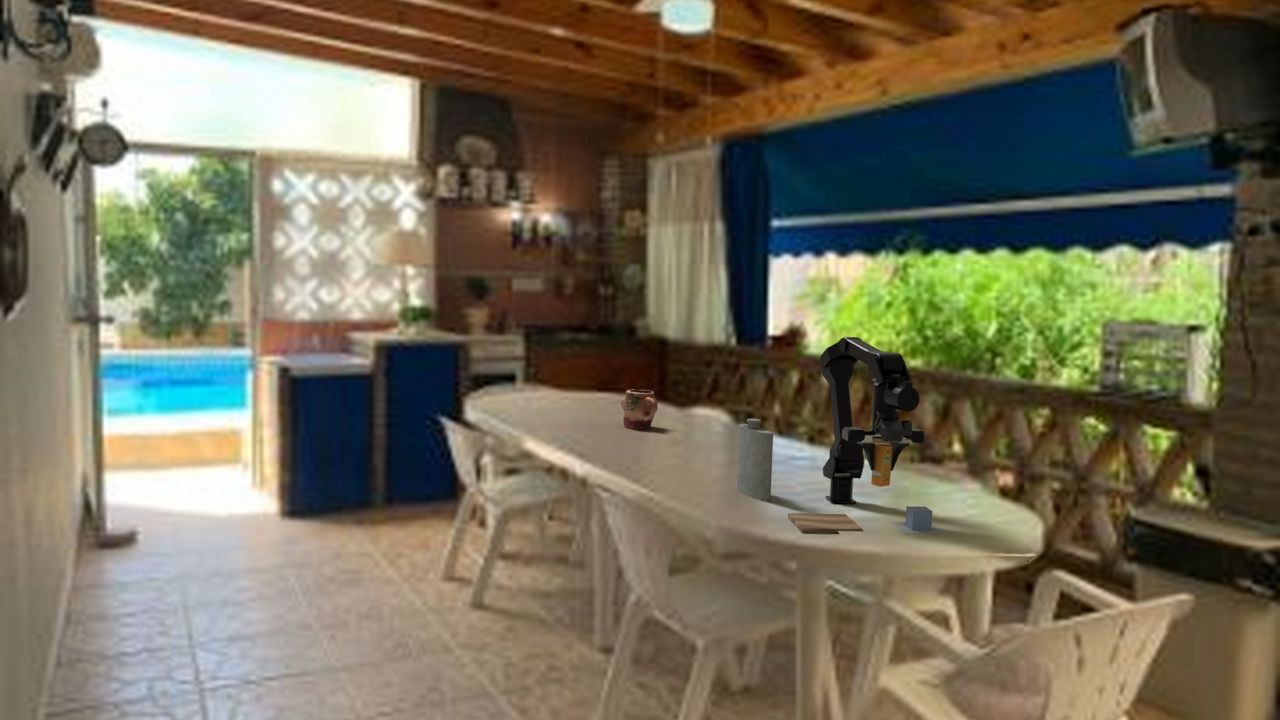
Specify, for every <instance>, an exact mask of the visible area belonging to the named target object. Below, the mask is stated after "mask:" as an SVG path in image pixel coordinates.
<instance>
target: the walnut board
mask: <svg viewBox="0 0 1280 720" xmlns="http://www.w3.org/2000/svg"><path fill="white" fill-rule="evenodd" d="M787 518H788V520H789V521H791V523H792V524H793V525H794V526H795V527H796V528H797V529H798V531H800V533H802V534H804V533H805V534H809V533H810V534H811V533H812V534H840V533H839V532H841V531H842V532H845V531H846V532H863V528H862V527H861V526H860V525H859V524H857V522H856V521H854V520H853V519H852V518H851V517H849V516H848V514H846V513H793V512H792V513H789V512H788V513H787Z"/></svg>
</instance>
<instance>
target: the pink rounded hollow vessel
mask: <svg viewBox="0 0 1280 720" xmlns="http://www.w3.org/2000/svg"><path fill="white" fill-rule="evenodd" d="M624 394H625V395H624V397H623V398H622V400H621V401H620V406H621V408H622V409H623V412H624V413H623V425H624V428H627V429H630V430H645V429H646V430H647V429H649V428H651V427H652V422H653V420H654V418H655V415H656V413H657V411H658V408H659V407H658V401H657V399H656V397H655V393H654V391H653V390H651V389H638V388H637V389H636V388H635V389H634V388H633V389H629V390H626V391H625V393H624Z"/></svg>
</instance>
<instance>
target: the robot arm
mask: <svg viewBox="0 0 1280 720" xmlns="http://www.w3.org/2000/svg"><path fill="white" fill-rule="evenodd" d="M859 362H861V363H863V364H864V365H866V366H867V371H868V372H869V373H870V374H871V376H872V377H873V379H871V380H870V382H869V384H870V385H871V386H873V393H872V407H871V408H870V409H871V410H870V413H871V414H872V415H871V424H870V425H869V426H870V427H869V430H865V429H863V428H862V427H859V426H854V425H853V415H852V414H853V413H852V403H851V394H850V393H851V392H850V381H851V379H852V377H853V375H854V372H855V365H856V364H857V363H859ZM819 366H820V368H821V373H822V377H823V378H824V379H825V380H826V381H827V383H828V385H829V391H830V392H829V393H830V403H831V413H832V414H831V415H832V423H833V424H832V425H833V434H834V437H833V438H834V441H833V442H832V445H831V446H830V448H829V453H828V454H829V458H828V459H827V461H826V462H825V464H824V465H823V467H822V476H823V477H825V478H827V479H829V480H830V483H829V484H830V485H829V486H830V487H829V495H825V499H826V500H828V501H829V502H830V503H831V504H857V500H856V499H854V498H853V489H854V479H859V480H860V479H862V476H863V472H864V471H863V470H864V468H865V457H864V453H865V456H866V459H867V463H868V466H869V469H870V471H871V472H872V471H873V470H874V447H875V443H876V442H875V443H874V442H873V441H874V439H881V440H883V441H885V442H890V443H889V444H890V445H893V451H892V463H891V472H893V471H894V469H895V467H896V464H897V462H898V459H899V457H900V455H901V453H902V451H903V450H904V449H905V448H906V447H910V446H911V443H909V441H910V442H912V443H913V444H924V443H926V434H925V432H924V430H922V429H919V428H917V427H913V422H912V420H909V419H904V420H900V418H899V417H900V414H899V413H900V412H899V411H898V410H900V411H901V412H902V411H903V412H907V413H908V412H909V413H910V412H913V411H914V410H915V409H917V408H918V406H919V403H920V400H921V398H920V394H919V392H918V390H917V389H916V388H915V387H913V381H912V380H911V374H910V372H909V370H908V366H907V364H906V361H905V359H904V356H903V355H902V354H901V353H899V352H893V351H884V350H880V349H878V348H877V347H874V346H873V345H871V344H869V343H868V342H866V341H864V340H863V339H862V338H860V337H859V336H844V337H841V338H840V339H839V340H838V342H836V343H834V344H832V345H829V346H828V347H827V348H826V349H824V351H823V352H822V353H821V355H820V357H819Z"/></svg>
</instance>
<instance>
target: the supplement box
mask: <svg viewBox="0 0 1280 720" xmlns="http://www.w3.org/2000/svg"><path fill="white" fill-rule="evenodd" d="M890 444H891V443H886V442H878V443H876V442H875V447H874V470H873V471H872V470H871V479H870V480H871V482H870V483H871V485H873V486H875V487H879V488H881V487H888V486H890V485H891V476H892V475H891V473H892V471H891V463H892V451H893V445H890Z"/></svg>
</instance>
